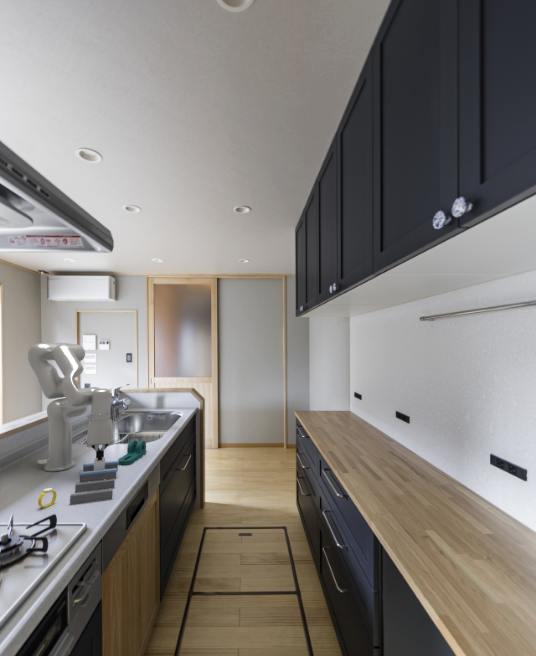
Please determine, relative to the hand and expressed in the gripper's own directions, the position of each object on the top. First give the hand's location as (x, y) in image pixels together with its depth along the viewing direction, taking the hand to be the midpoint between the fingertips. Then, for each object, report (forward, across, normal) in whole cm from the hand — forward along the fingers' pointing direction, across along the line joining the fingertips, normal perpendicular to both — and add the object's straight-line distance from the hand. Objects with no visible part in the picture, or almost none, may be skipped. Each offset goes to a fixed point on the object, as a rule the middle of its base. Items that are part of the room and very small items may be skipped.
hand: (99, 459), depth 158 cm
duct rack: (+7, 0, -10) cm, 13 cm away
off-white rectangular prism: (+7, 0, 0) cm, 7 cm away
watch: (+7, -15, -26) cm, 30 cm away
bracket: (+7, +13, +18) cm, 23 cm away
